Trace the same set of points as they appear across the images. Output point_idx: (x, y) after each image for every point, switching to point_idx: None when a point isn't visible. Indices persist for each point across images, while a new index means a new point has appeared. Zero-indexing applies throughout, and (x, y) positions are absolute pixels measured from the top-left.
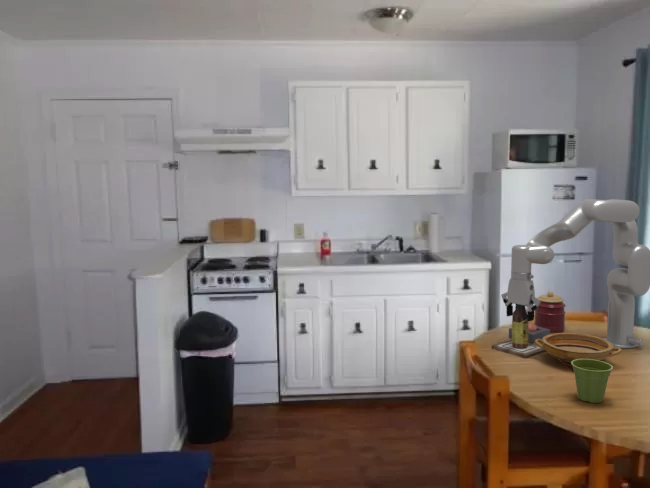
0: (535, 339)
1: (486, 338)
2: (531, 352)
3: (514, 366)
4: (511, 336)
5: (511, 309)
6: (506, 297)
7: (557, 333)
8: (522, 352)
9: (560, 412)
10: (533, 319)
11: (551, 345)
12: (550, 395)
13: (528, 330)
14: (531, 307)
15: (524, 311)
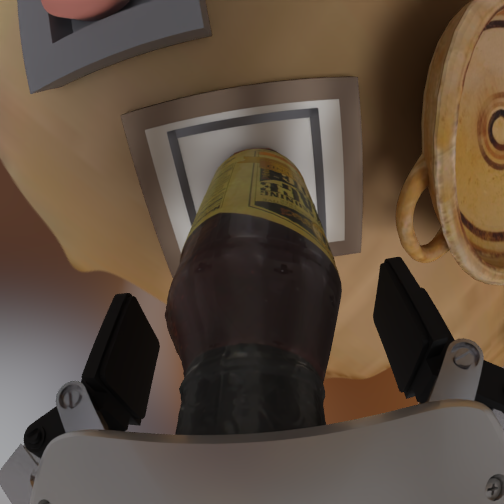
0: (204, 11)
1: (47, 198)
2: (352, 201)
3: (371, 322)
4: (70, 81)
5: (126, 363)
6: (36, 470)
7: (459, 69)
8: (328, 238)
9: (498, 362)
10: (399, 259)
11: (497, 282)
12: (483, 347)
13: (114, 2)
14: (436, 392)
15: (326, 367)
